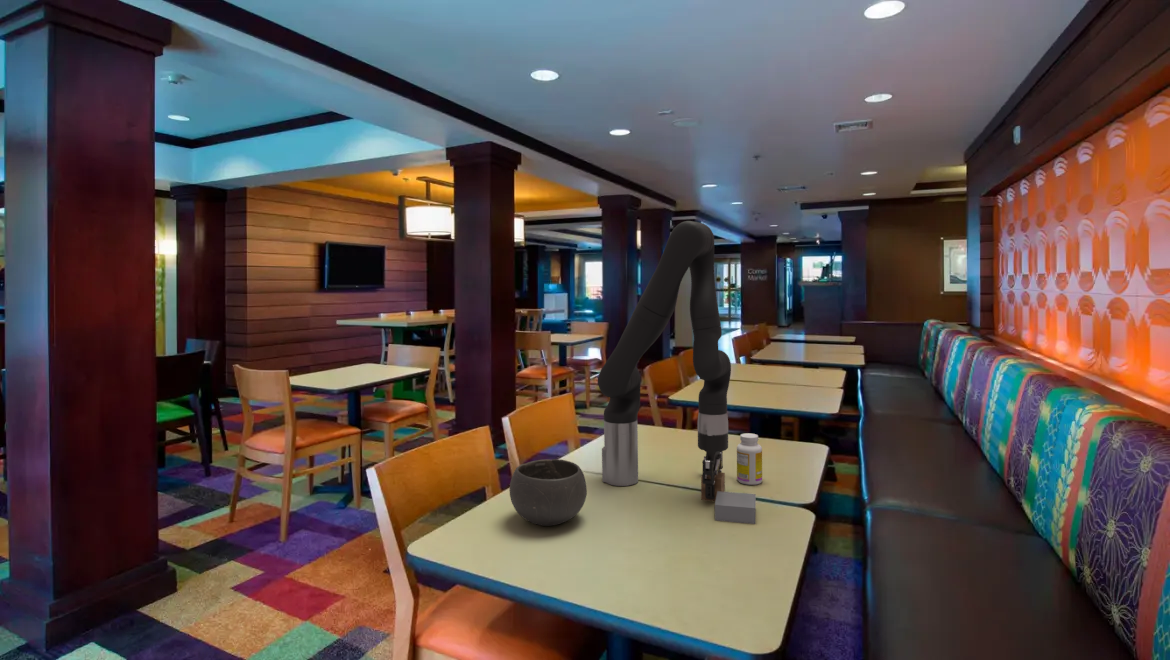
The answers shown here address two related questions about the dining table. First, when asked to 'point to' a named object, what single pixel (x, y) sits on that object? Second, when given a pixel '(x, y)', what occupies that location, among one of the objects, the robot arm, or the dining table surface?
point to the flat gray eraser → (735, 507)
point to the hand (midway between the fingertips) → (713, 493)
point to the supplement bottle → (749, 460)
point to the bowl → (548, 491)
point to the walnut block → (718, 485)
